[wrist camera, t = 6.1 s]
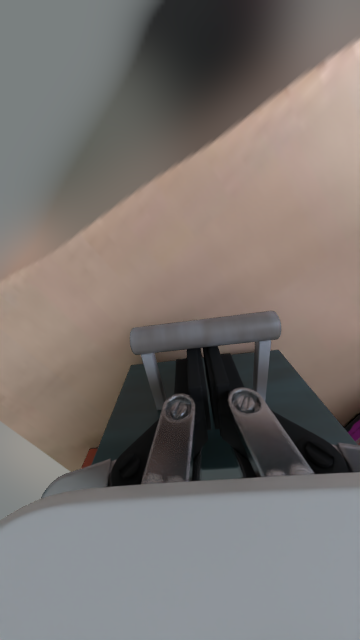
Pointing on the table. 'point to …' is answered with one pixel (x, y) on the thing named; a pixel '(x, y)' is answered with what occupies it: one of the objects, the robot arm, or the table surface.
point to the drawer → (159, 382)
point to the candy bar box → (354, 429)
